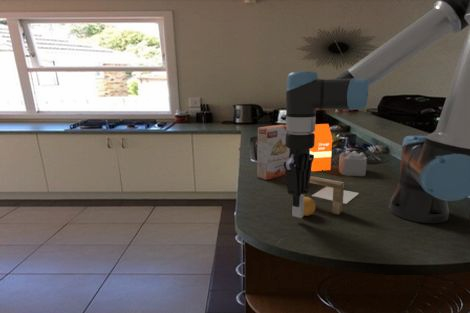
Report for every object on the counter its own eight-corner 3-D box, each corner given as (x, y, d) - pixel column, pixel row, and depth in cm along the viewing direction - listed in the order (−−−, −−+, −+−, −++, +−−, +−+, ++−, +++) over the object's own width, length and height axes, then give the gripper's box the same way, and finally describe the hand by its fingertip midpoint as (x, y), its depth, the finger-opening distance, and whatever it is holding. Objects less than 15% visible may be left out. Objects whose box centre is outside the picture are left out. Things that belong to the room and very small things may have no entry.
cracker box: (267, 181, 125) (267, 128, 120) (256, 177, 130) (256, 127, 125) (289, 174, 134) (291, 125, 129) (279, 171, 139) (279, 123, 134)
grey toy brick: (341, 175, 131) (342, 155, 129) (336, 167, 144) (337, 148, 142) (367, 176, 129) (369, 155, 127) (360, 168, 142) (362, 149, 140)
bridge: (299, 200, 104) (300, 174, 102) (342, 211, 95) (344, 182, 93) (294, 203, 102) (295, 176, 100) (338, 214, 93) (340, 184, 91)
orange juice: (330, 169, 139) (333, 124, 135) (312, 171, 138) (314, 125, 133) (322, 165, 147) (324, 122, 142) (304, 166, 145) (306, 123, 140)
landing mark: (359, 193, 110) (359, 193, 110) (346, 204, 101) (346, 203, 101) (326, 187, 117) (326, 186, 117) (311, 196, 108) (311, 195, 108)
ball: (309, 210, 88) (313, 221, 91) (316, 194, 91) (319, 206, 94) (291, 206, 91) (296, 217, 94) (298, 191, 94) (302, 202, 97)
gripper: (299, 128, 90) (297, 205, 95) (274, 134, 80) (273, 220, 86) (324, 130, 85) (320, 211, 91) (301, 137, 75) (298, 228, 81)
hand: (297, 216), depth 88 cm, fingers closed
